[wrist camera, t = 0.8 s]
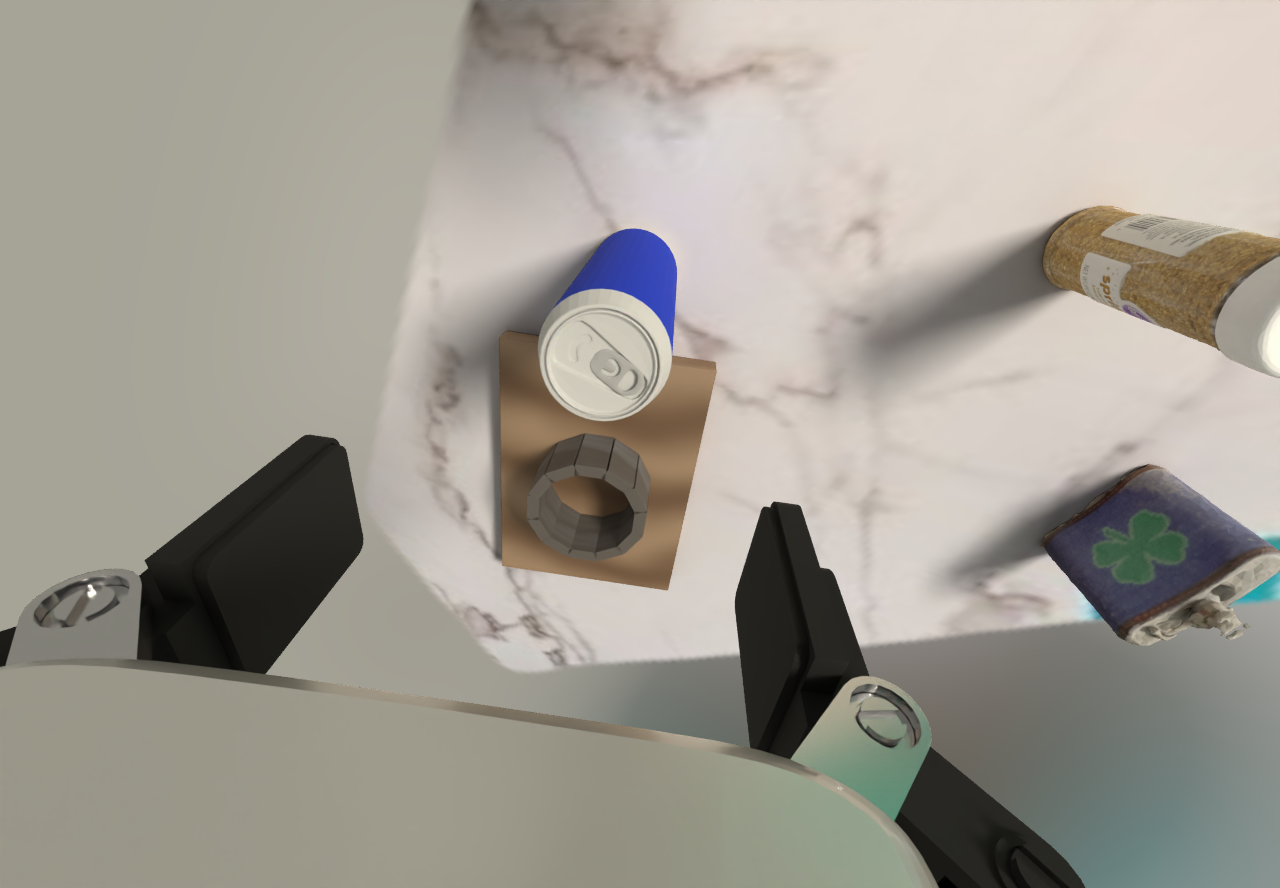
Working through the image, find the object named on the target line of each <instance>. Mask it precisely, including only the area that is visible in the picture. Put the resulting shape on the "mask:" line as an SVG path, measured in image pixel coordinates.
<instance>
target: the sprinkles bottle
mask: <svg viewBox="0 0 1280 888" xmlns="http://www.w3.org/2000/svg"><path fill="white" fill-rule="evenodd" d="M1043 270H1044V273H1045V274H1046V276H1047V277H1048V280H1050V281H1051V283H1052V284H1053V285H1055V286H1057V287H1059V288H1062V289H1066V290H1073V291H1076V292H1078V293H1081V294H1083V295H1085V296H1088V297H1090V298H1091V299H1093V300H1095V301H1097V302H1099V303H1102V304H1105V305H1107V306H1110V307H1112V308H1115V309H1117V310H1120V311H1122V312H1125V313H1127V314H1129V315H1132V316H1135V317H1137V318H1140V319H1142V320H1145V321H1147V322H1150V323H1152V324H1155V325H1157V326H1160V327H1163V328H1168V329H1171V330H1173V331H1175V332H1178V333H1181V334H1182V335H1185V336H1187V337H1190V338H1193V339H1196V340H1198V341H1200V342H1203V343H1206V344H1208V345H1210V346H1212V347H1215V348H1217V349H1218V350H1219V351H1221V352H1222V353H1223V354H1224V355H1225V356H1226V357H1228V358H1229V359H1231V360H1233V361H1235V362H1237V363H1240V364H1242V365H1244V366H1246V367H1249V368H1251V369H1254V370H1256V371H1259V372H1262V373H1264V374H1267V375H1270V376H1273V377H1277V378H1280V239H1277V238H1272V237H1265V236H1263V235H1260V234H1258V233H1254V232H1250V231H1245V230H1239V229H1233V228H1227V227H1221V226H1215V225H1209V224H1204V223H1198V222H1192V221H1187V220H1181V219H1176V218H1170V217H1164V216H1158V215H1152V214H1143V215H1141V214H1135V213H1131V212H1127V211H1125V210H1123V209H1121V208H1118V207H1113V206H1096V207H1093V208H1089V209H1086V210H1083V211H1081V212H1079V213H1077V214H1075V215H1074V216H1072V217H1071V218H1069V219H1068V220H1067V221H1066V222H1064V223H1063V224H1062V225H1061V226H1060V227H1059V228H1058V229H1057V230H1056V231H1055V232H1054V233H1053V234H1052V236H1051V238H1050V240H1049V241H1048V243H1047V245H1046V248H1045V253H1044V257H1043Z"/></svg>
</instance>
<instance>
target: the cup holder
mask: <svg viewBox="0 0 1280 888" xmlns="http://www.w3.org/2000/svg"><path fill="white" fill-rule="evenodd" d="M538 341H539V336H537V335H531V334H524V333H517V332H511V331H506V332H505V333H504V334H503V335H502V336H501V337H500V338H499V354H500V429H501V504H502V566H507V567H514V568H521V569H527V570H534V571H541V572H547V573H554V574H561V575H568V576H574V577H581V578H588V579H594V580H601V581H608V582H615V583H621V584H628V585H635V586H641V587H648V588H655V589H662V590H668V588H669V583H670V579H671V574H672V569H673V565H674V560H675V556H676V551H677V547H678V542H679V538H680V533H681V529H682V524H683V520H684V515H685V511H686V506H687V502H688V497H689V493H690V488H691V484H692V479H693V475H694V470H695V466H696V461H697V457H698V452H699V448H700V443H701V439H702V434H703V430H704V425H705V421H706V416H707V412H708V407H709V403H710V398H711V394H712V389H713V385H714V380H715V376H716V363H715V362H711V361H704V360H697V359H691V358H684V357H677V356H672V363H671V369H670V373H669V377H668V379H667V381H666V383H665V385H664V387H663V388H662V390H661V391H660V393H659V394H658V395H657V396H656V397H655V398H654V399H653V400H652V401H651V402H650V403H649V404H648V405H646V406H645V407H644V408H643V409H641V410H640V411H639V412H637V413H635V414H633V415H631V416H629V417H626V418H623V419H619V420H614V421H595V420H590V419H586V418H583V417H580V416H578V415H576V414H574V413H572V412H570V411H568V410H567V409H566V408H564V407H563V406H562V405H561V404H560V403H559V402H558V401H557V400H556V399H555V398H554V397H553V396H552V394H551V393H550V392H549V390H548V388H547V386H546V384H545V382H544V379H543V377H542V374H541V369H540V363H539V357H538Z"/></svg>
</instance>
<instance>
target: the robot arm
mask: <svg viewBox="0 0 1280 888" xmlns="http://www.w3.org/2000/svg"><path fill="white" fill-rule="evenodd" d="M362 546H363V533H362V528H361V523H360V519H359V513H358V508H357V503H356V498H355V493H354V487H353V482H352V477H351V472H350V468H349V462H348V457H347V452H346V449H345V448H344V447H343V446H340V444H339V442H338V441H337V440H336V439H334V438H328V437H322V436H315V435H305V436H303V437H301V438H300V439H299V440H298V441H296V442H295V443H294V444H292V445H291V446H290V447H289V448H288V449H286V450H285V451H284V452H282V453H281V454H280V455H278V456H277V457H276V458H275V459H273V460H272V461H271V462H269V463H268V464H267V465H266V466H264V467H263V468H262V469H261V470H259V471H258V472H257V473H255V474H254V475H253V476H252V477H251V478H249V479H248V480H247V481H245V482H244V483H243V484H241V485H240V486H239V487H238V488H237V489H235V490H234V491H233V492H231V493H230V494H229V495H227V496H226V497H225V498H224V499H222V500H221V501H220V502H219V503H217V504H216V505H215V506H213V507H212V508H211V509H210V510H208V511H207V512H206V513H205V514H203V515H202V516H201V517H199V518H198V519H197V520H196V521H194V522H193V523H192V524H191V525H189V526H188V527H187V528H185V529H184V530H183V531H182V532H180V533H179V534H178V535H176V536H175V537H174V538H173V539H171V540H170V541H169V542H168V543H166V544H165V545H164V546H162V547H161V548H160V549H159V550H157V551H156V552H155V553H153V555H151V556H150V557H148V558H147V559H146V560H145V562H146V564H147V566H148V569H147V570H146V571H145V572H143V573H142V574H141V575H139V576H138V575H136V574H135V573H134V572H133V571H129V570H124V569H104V570H98V571H92V572H88V573H85V574H81V575H78V576H75V577H72V578H69V579H67V580H65V581H63V582H61V583H59V584H57V585H54V586H52V587H51V588H49V589H47V590H46V591H44V592H43V593H41V594H40V595H38V596H37V597H36V598H35V599H33V601H32V602H30V603H29V604H28V605H27V606H26V607H25V609H24V610H23V612H22V614H21V616H20V617H19V620H18V624H17V626H16V627H13V628H10V629H7V630H4V631H1V632H0V888H1085V886H1084V884H1083V883H1082V881H1081V879H1080V878H1079V877H1078V875H1077V874H1076V873H1075V871H1074V870H1073V869H1072V867H1071V866H1070V865H1069V863H1068V862H1067V861H1066V860H1065V859H1064V858H1063V857H1062V856H1061V855H1060V854H1059V853H1058V852H1057V851H1056V850H1055V849H1054V848H1052V846H1051V845H1049V844H1048V843H1047V842H1046V841H1045V840H1043V839H1042V838H1041V837H1040V836H1038V835H1037V834H1036V833H1035V832H1034V831H1032V830H1031V829H1030V828H1029V827H1027V826H1026V825H1025V824H1024V823H1023V822H1021V821H1020V820H1019V819H1018V818H1016V817H1015V816H1014V815H1013V814H1012V813H1010V812H1009V811H1008V810H1007V809H1005V808H1004V807H1003V806H1002V805H1001V804H999V803H998V802H997V801H996V800H995V799H993V798H992V797H991V796H990V795H988V794H987V793H986V792H985V791H984V790H982V789H981V788H980V787H979V786H978V785H976V784H975V783H974V782H973V781H971V780H970V779H969V778H968V777H967V776H965V775H964V774H963V773H962V772H960V771H959V770H958V769H957V768H956V767H954V766H953V765H952V764H951V763H950V762H948V761H947V760H946V759H944V758H943V757H942V756H941V755H940V754H939V753H937V752H936V751H935V750H934V749H932V748H931V747H930V743H931V738H932V736H931V731H930V725H929V723H928V721H927V719H926V717H925V715H924V713H923V711H922V710H921V709H920V707H919V706H918V705H917V704H916V702H915V701H914V700H913V699H912V698H911V697H910V696H909V695H907V694H906V693H905V692H904V691H903V690H901V689H900V688H898V687H897V686H895V685H893V684H892V683H890V682H888V681H885V680H882V679H879V678H876V677H870V676H869V674H868V671H867V668H866V665H865V662H864V659H863V656H862V653H861V650H860V647H859V645H858V642H857V639H856V636H855V633H854V630H853V627H852V624H851V621H850V618H849V616H848V613H847V610H846V607H845V604H844V601H843V598H842V595H841V592H840V589H839V587H838V584H837V581H836V578H835V576H834V574H833V572H832V571H831V570H830V569H825V568H820V566H819V563H818V559H817V556H816V553H815V550H814V547H813V544H812V540H811V537H810V534H809V531H808V528H807V525H806V522H805V518H804V515H803V512H802V509H801V507H800V506H799V505H795V504H788V503H781V502H773V503H772V504H771V507H763V508H762V510H761V513H760V516H759V520H758V523H757V526H756V529H755V533H754V536H753V539H752V542H751V546H750V549H749V552H748V555H747V559H746V562H745V565H744V568H743V572H742V575H741V578H740V581H739V585H738V588H737V591H736V597H735V613H736V622H737V631H738V640H739V649H740V658H741V668H742V677H743V686H744V694H745V704H746V713H747V723H748V731H749V741H750V748H747V747H742V746H738V745H733V744H728V743H724V742H719V741H714V740H707V739H701V738H696V737H690V736H684V735H678V734H672V733H665V732H660V731H653V730H648V729H642V728H635V727H628V726H622V725H615V724H608V723H602V722H595V721H588V720H581V719H574V718H568V717H561V716H555V715H548V714H541V713H534V712H527V711H521V710H514V709H507V708H501V707H493V706H486V705H480V704H473V703H466V702H459V701H452V700H445V699H438V698H430V697H424V696H417V695H410V694H403V693H396V692H389V691H382V690H375V689H368V688H361V687H353V686H346V685H339V684H331V683H324V682H317V681H310V680H302V679H295V678H288V677H281V676H273V675H266V673H267V671H268V670H269V669H270V667H271V666H272V665H273V664H274V662H275V661H276V660H277V658H278V657H279V656H280V655H281V653H282V652H283V651H284V650H285V648H286V647H287V646H288V644H289V643H290V642H291V641H292V639H293V638H294V637H295V635H296V634H297V633H298V631H299V630H300V629H301V627H302V626H303V625H304V624H305V623H306V621H307V620H308V619H309V617H310V616H311V615H312V614H313V612H314V611H315V610H316V608H317V607H318V606H319V605H320V603H321V602H322V601H323V600H324V598H325V597H326V596H327V594H328V593H329V592H330V591H331V589H332V588H333V587H334V585H335V584H336V583H337V582H338V580H339V579H340V578H341V576H342V575H343V574H344V573H345V571H346V570H347V568H348V567H349V566H350V565H351V564H352V562H353V561H354V560H355V558H356V557H357V556H358V555H359V553H360V551H361V549H362Z"/></svg>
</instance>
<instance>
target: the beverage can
mask: <svg viewBox="0 0 1280 888" xmlns="http://www.w3.org/2000/svg"><path fill="white" fill-rule="evenodd" d="M676 284H677V267H676V262H675V259H674V256H673V254H672V252H671V250H670V248H669V247H668V246H667V245H666V243H665V242H664V241H663V240H662V239H661V238H659V237H658V236H656V235H655V234H653V233H651V232H649V231H646V230H642V229H625V230H621V231H618V232H616V233H614V234H612V235H611V236H609V237H608V238H607V239H606V240H605V241H604V242H603V243H602V244H601V245H600V247H599V248H598V249H597V251H596V252H595V253H594V255H593V256H592V257H591V259H590V260H589V261H588V263H587V264H586V265H585V267H584V268H583V269H582V271H581V272H580V273H579V275H578V276H577V277H576V279H575V280H574V281H573V283H572V284H571V285H570V287H569V288H568V289H567V291H566V292H565V293H564V295H563V296H562V297H561V299H560V300H559V301H558V303H557V304H556V305H555V307H554V308H553V309H552V311H551V312H550V313H549V315H548V316H547V318H546V320H545V322H544V324H543V325H542V328H541V332H540V335H539V341H538V357H539V363H540V369H541V374H542V377H543V379H544V382H545V384H546V386H547V388H548V390H549V392H550V393H551V394H552V396H553V397H554V398H555V399H556V400H557V401H558V402H559V403H560V404H561V405H562V406H563V407H564V408H566V409H567V410H568V411H570V412H572V413H574V414H576V415H578V416H580V417H583V418H586V419H590V420H595V421H614V420H619V419H623V418H626V417H629V416H631V415H633V414H635V413H637V412H639V411H640V410H641V409H643V408H644V407H645V406H646V405H648V404H649V403H650V402H651V401H652V400H653V399H654V398H655V397H656V396H657V395H658V394H659V393H660V391H661V390H662V388H663V387H664V385H665V383H666V381H667V379H668V377H669V373H670V369H671V363H672V350H673V333H674V317H675V301H676Z"/></svg>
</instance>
